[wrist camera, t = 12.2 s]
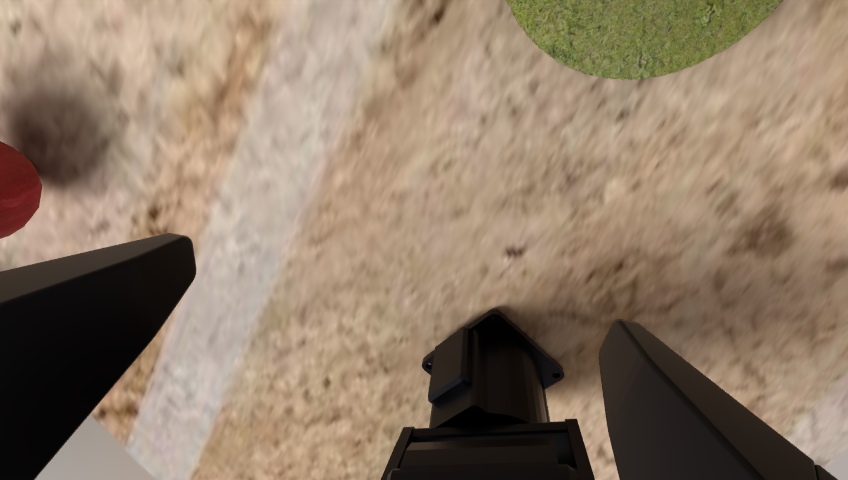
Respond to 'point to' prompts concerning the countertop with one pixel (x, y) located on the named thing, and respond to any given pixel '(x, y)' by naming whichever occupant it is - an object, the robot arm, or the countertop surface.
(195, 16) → the countertop surface
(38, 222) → the countertop surface
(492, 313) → the robot arm
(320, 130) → the countertop surface
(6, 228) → the onion
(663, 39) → the mat
